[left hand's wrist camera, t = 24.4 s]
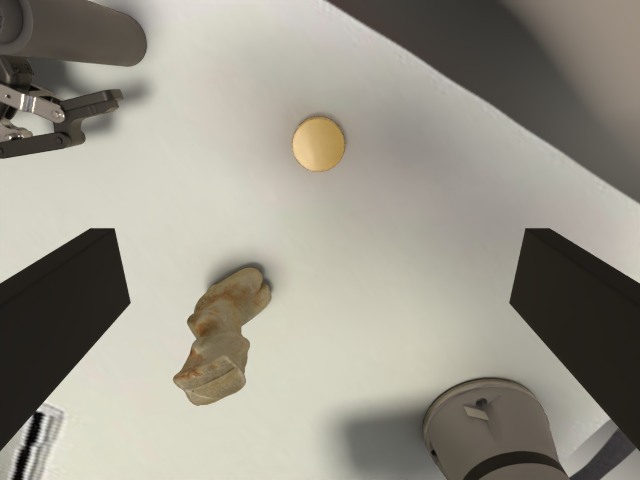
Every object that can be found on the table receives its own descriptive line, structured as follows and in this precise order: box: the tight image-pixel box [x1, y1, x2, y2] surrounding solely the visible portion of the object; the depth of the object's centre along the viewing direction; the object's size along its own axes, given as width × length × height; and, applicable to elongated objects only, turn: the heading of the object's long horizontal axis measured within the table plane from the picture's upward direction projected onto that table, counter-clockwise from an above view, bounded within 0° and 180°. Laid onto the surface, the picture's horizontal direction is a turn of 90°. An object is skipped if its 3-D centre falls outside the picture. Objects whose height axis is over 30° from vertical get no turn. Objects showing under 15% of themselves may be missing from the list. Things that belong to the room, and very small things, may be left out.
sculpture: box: [173, 268, 271, 406], centre depth 35 cm, size 6×7×15 cm
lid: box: [292, 116, 345, 172], centre depth 35 cm, size 5×5×2 cm
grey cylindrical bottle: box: [0, 0, 146, 67], centre depth 25 cm, size 4×4×16 cm
